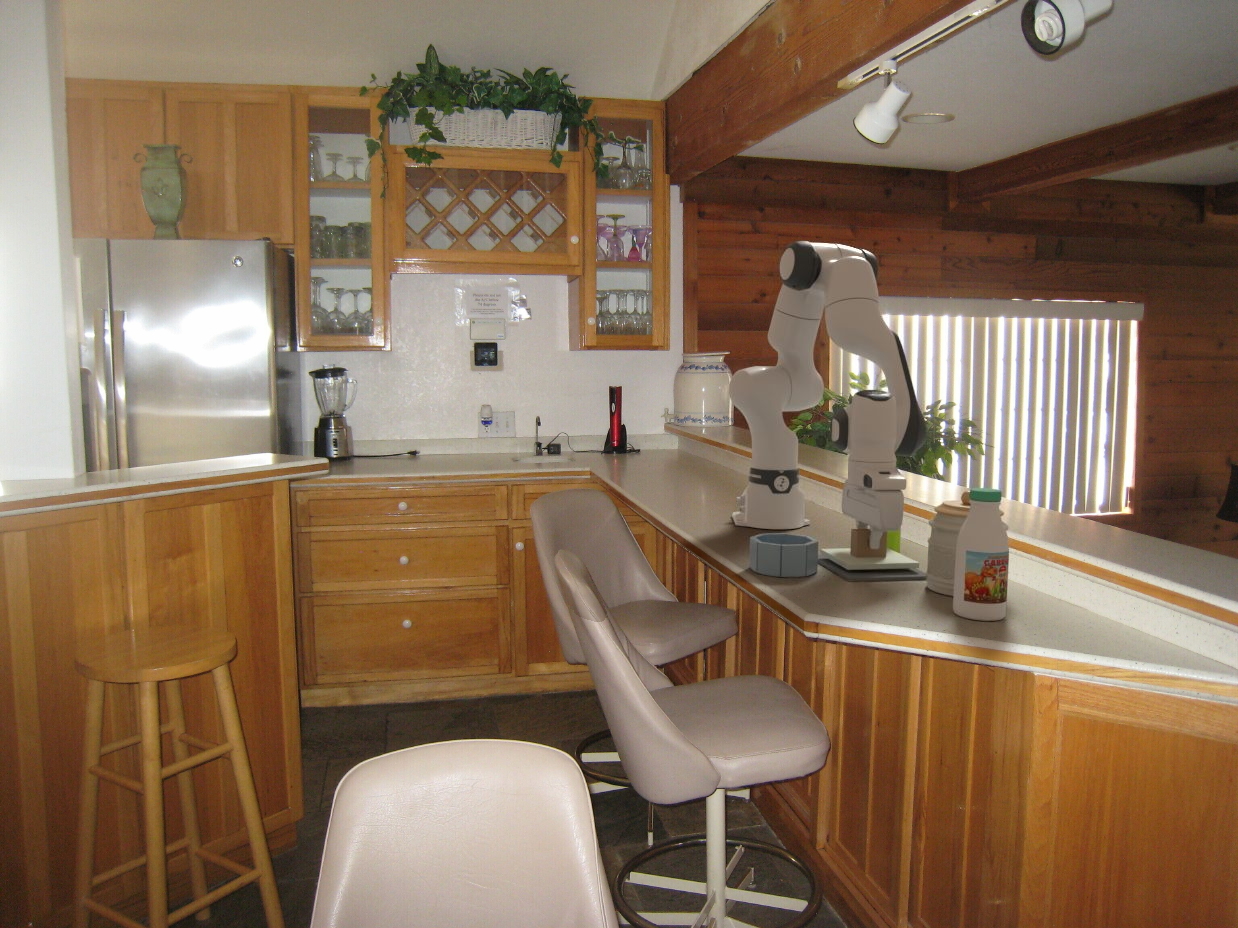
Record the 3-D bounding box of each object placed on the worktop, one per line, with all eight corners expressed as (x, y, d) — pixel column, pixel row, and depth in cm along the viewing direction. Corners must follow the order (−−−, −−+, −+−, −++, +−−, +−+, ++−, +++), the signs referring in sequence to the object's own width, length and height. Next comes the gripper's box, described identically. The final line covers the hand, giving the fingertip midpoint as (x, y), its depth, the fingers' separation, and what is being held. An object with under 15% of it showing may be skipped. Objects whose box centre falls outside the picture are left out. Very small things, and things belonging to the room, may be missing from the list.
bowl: (744, 563, 171) (744, 533, 171) (802, 562, 173) (803, 532, 172) (761, 578, 159) (762, 546, 159) (824, 576, 161) (825, 544, 160)
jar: (1021, 594, 150) (1027, 493, 148) (971, 603, 143) (976, 498, 141) (958, 578, 161) (963, 484, 159) (909, 586, 154) (913, 488, 153)
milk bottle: (944, 614, 137) (950, 489, 134) (965, 605, 142) (971, 484, 140) (993, 625, 131) (1000, 494, 129) (1013, 615, 136) (1021, 489, 134)
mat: (809, 557, 177) (809, 554, 177) (884, 556, 179) (884, 553, 179) (848, 581, 158) (848, 578, 157) (931, 579, 160) (931, 576, 160)
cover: (820, 553, 174) (821, 524, 174) (886, 552, 176) (887, 523, 176) (847, 569, 161) (848, 537, 160) (919, 567, 162) (920, 536, 162)
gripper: (835, 469, 176) (832, 535, 178) (878, 482, 156) (875, 557, 158) (864, 468, 177) (861, 535, 179) (911, 481, 157) (907, 556, 159)
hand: (868, 545), depth 168 cm, fingers closed on cover, 3 cm apart
